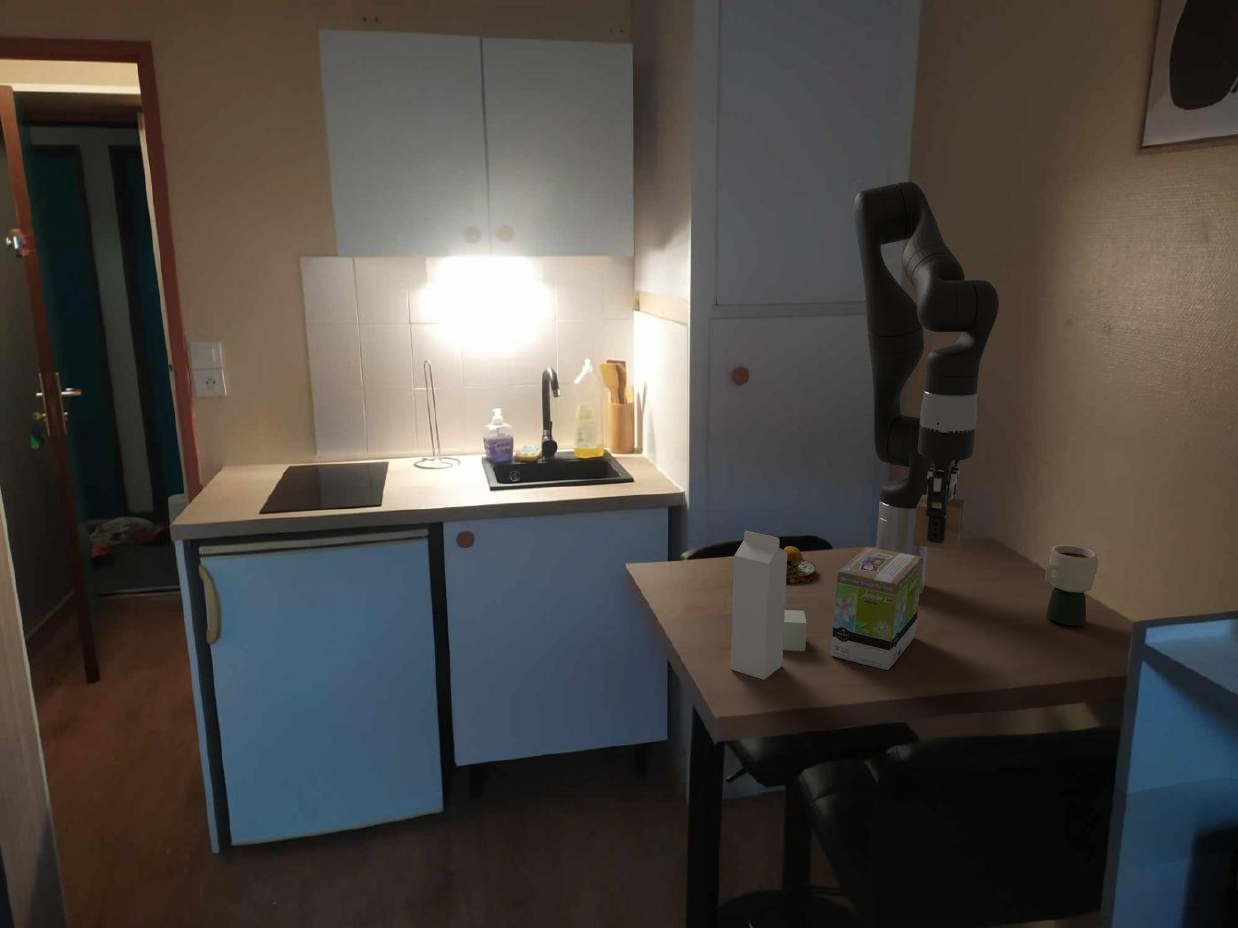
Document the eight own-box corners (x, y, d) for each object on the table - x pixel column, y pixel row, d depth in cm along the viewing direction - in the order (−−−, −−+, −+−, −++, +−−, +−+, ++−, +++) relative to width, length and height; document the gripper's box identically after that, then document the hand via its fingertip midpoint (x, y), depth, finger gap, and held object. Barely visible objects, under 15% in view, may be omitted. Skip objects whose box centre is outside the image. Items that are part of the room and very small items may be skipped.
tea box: (891, 672, 145) (898, 583, 141) (828, 657, 150) (834, 570, 147) (917, 637, 157) (924, 554, 154) (858, 624, 163) (864, 543, 159)
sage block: (772, 637, 158) (773, 609, 156) (802, 638, 157) (803, 610, 156) (774, 649, 153) (775, 621, 152) (805, 651, 152) (806, 622, 151)
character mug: (1074, 609, 169) (1082, 541, 165) (1105, 625, 162) (1115, 554, 159) (1025, 617, 165) (1033, 548, 162) (1055, 634, 159) (1064, 561, 155)
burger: (785, 560, 194) (787, 525, 193) (828, 577, 185) (830, 541, 183) (743, 572, 188) (744, 536, 186) (785, 590, 178) (787, 553, 177)
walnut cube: (919, 532, 141) (922, 494, 140) (961, 538, 139) (965, 499, 137) (913, 544, 136) (916, 505, 135) (957, 550, 134) (960, 510, 132)
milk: (748, 656, 150) (753, 525, 145) (782, 666, 147) (789, 532, 142) (729, 670, 146) (734, 535, 140) (764, 680, 142) (770, 543, 137)
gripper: (927, 411, 141) (919, 518, 145) (912, 431, 128) (903, 546, 132) (980, 415, 138) (970, 524, 142) (970, 435, 125) (959, 554, 129)
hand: (938, 534), depth 137 cm, fingers closed on walnut cube, 6 cm apart
